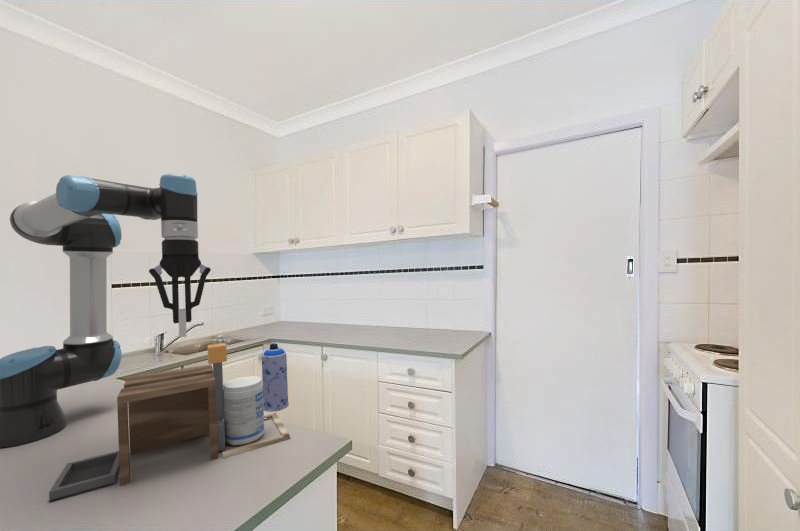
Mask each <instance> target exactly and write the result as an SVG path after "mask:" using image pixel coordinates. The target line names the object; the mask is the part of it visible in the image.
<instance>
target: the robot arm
mask: <svg viewBox="0 0 800 531" xmlns="http://www.w3.org/2000/svg"><path fill="white" fill-rule="evenodd" d="M158 186H159V187H155V188H154V187H145V186H140V185H134V184H133V185H132V184H129V183H128V184H126V183H121V182H115V181H108V180H102V179H98V178H91V177H88V176H84V175H83V176H79V175H78V176H77V175H63V176H61V177H60V179H59V180H58V182H57V184H56V187H55V188H56V189H55V193H53V194H51V195H49V196H48V197H45V198H43V199H40V200H39V201H38V200H34V201H33V200H31V201H27V202H24V203H22V204H20V205H18V206H17V207H15V208H14V209H13V210H12V211H11V213H10V215H9V222H10V226H11V228H12V229H13V231H14V232H15V233H16V234H18V235H19V236H20V237H22V238H23V239H26V241H27V240H28V241H30V242H32V243H35V244H41V245H46V246H57V247H58V246H59V247H60V246H61V247H62V253H64V254H65V255H67V256H68V258H69V336H68V337H66V338H65V339H64V340H63V341H62V345H63V346H62V348H60V349H57V347H55V346H53V345H45V346H44V345H43V346H40V347H32V348H28V349H27V348H26V349H23V350H19V351H16V352H13V353H10V354H8V355H4V356H3V357H1V358H0V449H1V448H2V449H3V448H9V447H15V446H19V445H25V444H29V443H31V442H35V441H39V440H41V439H44V438H47V437H50V436H53V435H55V434H57V433H58V432H60V431H61V430H63V429H65V428H66V426H67V417H66V415H65V413H64V410H63V408H62V407H61V404H60V403H59V401H58V391H59V390H62V389H65V388H70V387H74V386H78V385H81V384H87V383H90V382H97V381H99V380H102V379H106V378H109V377H111V376H113V375H114V374H115V373H116V372H117V370H118V369H119V367H120V364H121V363H122V349H121V344H120V342H119V341H117V340H115V339H114V336H113V335H112V334H111V333H109V332H108V331H107V330H108V329H107V326H108V324H107V322H108V321H107V319H108V317H107V314H108V313H107V312H108V311H107V304H108V303H107V299H108V298H107V296H108V294H107V290H108V288H107V283H108V282H107V278H108V277H107V275H108V274H107V270H108V269H107V259H108V257H109V256H111V255H112V254H113V253H114V251H113V250H114V248H116V247H118V246H119V245H121V241H122V237H123V236H122V235H123V234H122V228H121V224H120V222H119V220H118V218H117V217H116V215H117V216H125V217H135V218H136V217H137V218H140V219H142V220H152V221H155V220H156V221H157V220H160V224H161V225H160V227H161V228H160V229H161V230H160V231H161V238H162V239H163V240H162V241H161V259H160V261H159V265H157V266H155V267H153V268H150V269H148V272H149V274H150V275H151V276H152V278H153V279H154V281H155V284H156V287H157V290H158V294H159V295H160V296H159V297H160V299H161V303H162V306H163V307H164V308H165V309H170V310H171V311H172V322H173V324H178V336H179V338H186V337H187V323H191V322H192V317H193V316H192V309H193V308H194V307H195V308H196V307H198V306H199V305H200V304H201V299H202V296H203V291H204V287H205V283H206V280H207V276H208V275H209V273H211V270H212V269H211V268H210V267H208V266H205V265H204V264H202V261H201V260H200V257H199V256H200V255H199V242H198V240H197V239H198V238H199V230H198V229H199V226H198V225H199V224H198V192H197V182H196V180H195V179H194V178H193V177H191V176H189V175H185V174H179V173H165V174H162V175H161V176H160V179H159V184H158ZM162 269H163V271H164V272H165V273H166V274H167V275H168V276H169V277H170V278H171V287H172V288H171V289H172V290H171V292H172V296H171V297H172V303H171V302H170V300H169V297H168V293H167V291H166V287H165V285H164V281H163V278H162V276H161V275H162V273H163V271H162ZM198 269H199V273H200V277H199V280H198V284H197V287H196V292H195V296H194V300H193V301H192V293H191V292H192V290H191V288H192V286H191V285H192V284H191V277H192V276H193V275H194V274H195V273H196V271H197V270H198ZM179 278H184V301H185V307H184V308H179V307H180V302H179V301H180V298H179V297H180V296H179Z"/></svg>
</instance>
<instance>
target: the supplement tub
mask: <svg viewBox="0 0 800 531" xmlns="http://www.w3.org/2000/svg"><path fill="white" fill-rule="evenodd" d="M223 400H224V419H223V421H224V426H225V443H227V444H228V445H232V446H244V445H248V444H252V443H254V442H255V441H257V440H259V439H260V438H261V437H262V436H264V432H265V420H264V416H265V415H264V413H265V411H264V410H263V382H262V377H260V376H251V375H250V376H243V377H242V376H241V377H236V378H233V379H231V380H228V381H225V383H224V382H223Z"/></svg>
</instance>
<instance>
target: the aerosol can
mask: <svg viewBox="0 0 800 531" xmlns="http://www.w3.org/2000/svg"><path fill="white" fill-rule="evenodd" d="M287 356H288V355H287V352H286V351H285V350H284V349H283V348H281V347H279V346H278V343H270V344H269V348H267V349H266V350H265V351H264V352H263V353H262V356H261V376H262V377H261V379H262V386H263V412H268V413H276V412H279V411H283V410H285V409H286V408H288V407H289V404H290V403H289V391H288V388H289V386H288V384H289V383H288V363H287V362H288V361H287V360H288V358H287Z"/></svg>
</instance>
